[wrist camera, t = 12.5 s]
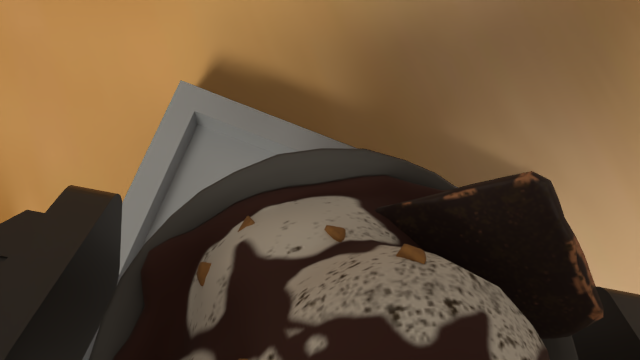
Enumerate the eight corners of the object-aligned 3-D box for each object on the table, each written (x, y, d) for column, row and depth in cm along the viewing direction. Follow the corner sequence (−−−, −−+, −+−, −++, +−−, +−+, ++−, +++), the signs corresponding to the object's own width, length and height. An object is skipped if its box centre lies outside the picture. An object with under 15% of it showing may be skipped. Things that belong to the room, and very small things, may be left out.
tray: (10, 479, 15) (-19, 500, 14) (186, 101, 19) (180, 80, 17) (416, 619, 16) (437, 657, 14) (514, 227, 19) (540, 219, 18)
